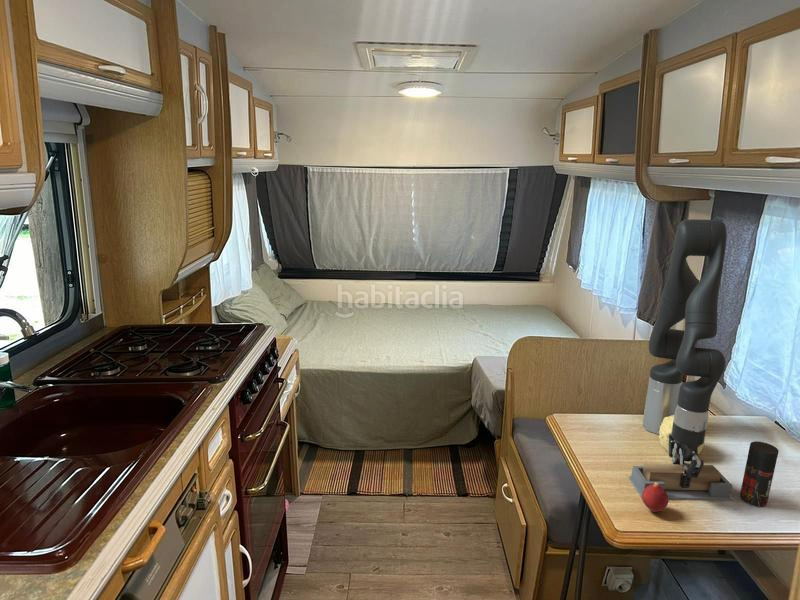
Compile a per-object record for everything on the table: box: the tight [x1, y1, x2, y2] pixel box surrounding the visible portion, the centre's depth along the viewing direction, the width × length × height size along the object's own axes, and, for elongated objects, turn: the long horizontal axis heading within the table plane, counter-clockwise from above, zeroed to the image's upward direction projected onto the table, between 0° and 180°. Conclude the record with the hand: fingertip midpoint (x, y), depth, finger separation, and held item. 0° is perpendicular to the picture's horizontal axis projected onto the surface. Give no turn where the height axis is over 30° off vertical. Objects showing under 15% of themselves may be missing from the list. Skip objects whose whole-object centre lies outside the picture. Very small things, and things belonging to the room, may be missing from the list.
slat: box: [643, 463, 722, 490], centre depth 143 cm, size 4×18×5 cm, turn 89°
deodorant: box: [739, 440, 779, 508], centre depth 137 cm, size 6×6×15 cm
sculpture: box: [658, 415, 706, 455], centre depth 160 cm, size 12×12×11 cm
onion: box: [641, 482, 669, 513], centre depth 133 cm, size 6×6×8 cm
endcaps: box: [627, 465, 734, 502], centre depth 143 cm, size 9×23×4 cm, turn 89°
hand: (680, 481), depth 143 cm, fingers open, 4 cm apart
